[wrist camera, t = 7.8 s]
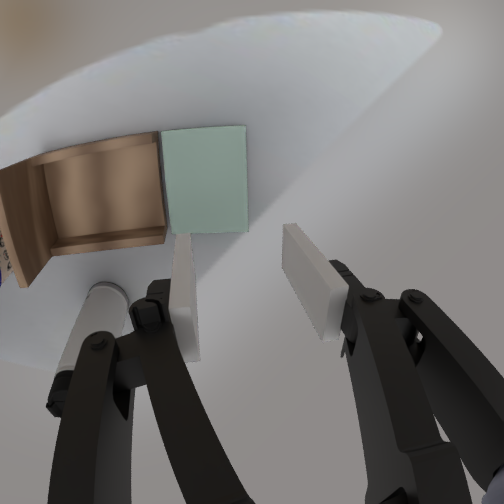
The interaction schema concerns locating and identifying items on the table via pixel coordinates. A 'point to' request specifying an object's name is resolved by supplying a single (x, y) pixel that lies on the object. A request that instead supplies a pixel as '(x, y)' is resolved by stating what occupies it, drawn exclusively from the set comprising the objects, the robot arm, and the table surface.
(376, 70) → the table surface
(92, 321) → the travel mug
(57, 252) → the cart bed
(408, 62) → the table surface
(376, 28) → the table surface
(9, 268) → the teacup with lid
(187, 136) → the panel
